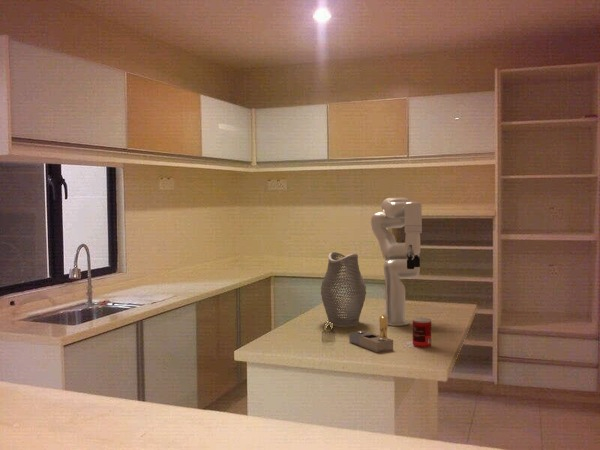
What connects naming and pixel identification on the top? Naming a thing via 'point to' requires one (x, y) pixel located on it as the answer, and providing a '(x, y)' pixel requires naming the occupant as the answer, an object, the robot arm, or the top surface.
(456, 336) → the top surface
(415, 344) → the canned food
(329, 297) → the vase
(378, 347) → the bolted slotted plate
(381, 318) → the pin
